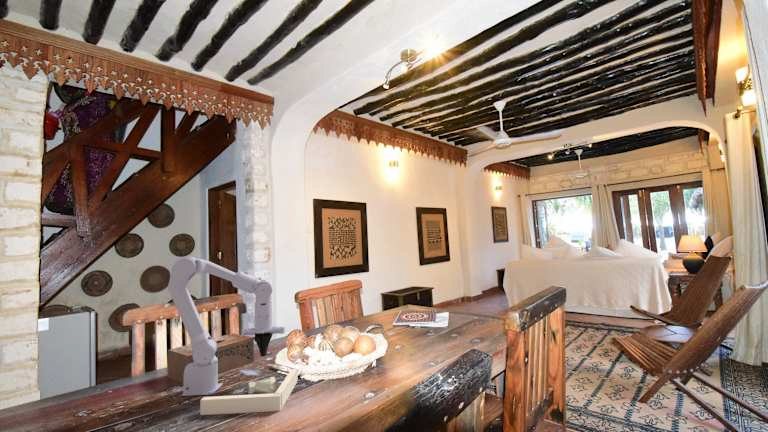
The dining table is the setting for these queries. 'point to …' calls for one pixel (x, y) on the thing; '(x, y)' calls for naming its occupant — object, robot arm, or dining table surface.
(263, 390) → the pipe fitting
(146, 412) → the dining table surface
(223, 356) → the tissue box cover
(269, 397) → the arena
